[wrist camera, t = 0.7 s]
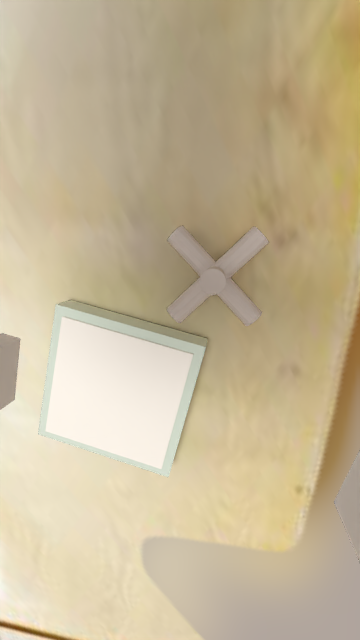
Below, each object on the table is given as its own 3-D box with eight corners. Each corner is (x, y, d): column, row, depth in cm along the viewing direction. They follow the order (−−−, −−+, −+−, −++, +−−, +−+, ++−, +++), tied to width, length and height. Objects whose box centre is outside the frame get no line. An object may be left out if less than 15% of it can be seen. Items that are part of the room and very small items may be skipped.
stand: (71, 299, 32) (54, 304, 29) (207, 338, 31) (205, 348, 28) (52, 419, 36) (36, 435, 33) (173, 458, 35) (168, 479, 32)
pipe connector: (287, 275, 28) (321, 285, 19) (213, 339, 31) (208, 377, 21) (219, 199, 28) (217, 169, 18) (149, 270, 30) (114, 278, 21)
